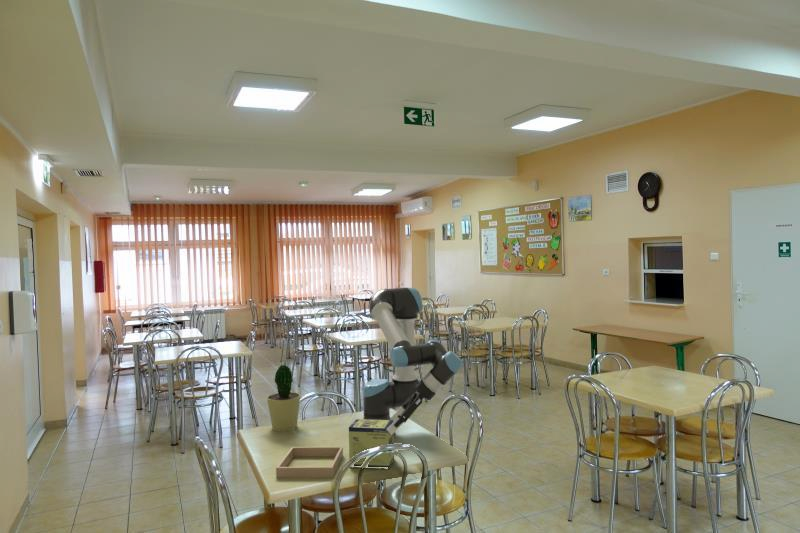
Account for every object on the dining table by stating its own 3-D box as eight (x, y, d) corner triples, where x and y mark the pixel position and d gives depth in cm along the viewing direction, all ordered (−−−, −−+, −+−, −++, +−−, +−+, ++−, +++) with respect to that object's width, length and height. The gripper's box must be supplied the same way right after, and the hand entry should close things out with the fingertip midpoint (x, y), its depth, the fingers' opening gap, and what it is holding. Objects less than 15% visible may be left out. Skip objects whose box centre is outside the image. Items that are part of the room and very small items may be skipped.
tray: (343, 455, 217) (342, 446, 217) (332, 477, 196) (332, 467, 196) (292, 455, 219) (291, 447, 219) (276, 477, 197) (276, 467, 197)
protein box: (389, 470, 201) (388, 428, 201) (349, 468, 204) (347, 426, 204) (395, 459, 212) (393, 419, 211) (356, 458, 214) (355, 418, 214)
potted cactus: (265, 425, 261) (263, 362, 260) (297, 420, 267) (295, 359, 267) (271, 434, 247) (269, 368, 246) (304, 429, 253) (302, 364, 252)
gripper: (436, 401, 192) (395, 444, 193) (437, 385, 217) (400, 423, 218) (420, 387, 192) (379, 429, 194) (423, 372, 217) (387, 410, 219)
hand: (390, 426), depth 206 cm, fingers open, 13 cm apart
